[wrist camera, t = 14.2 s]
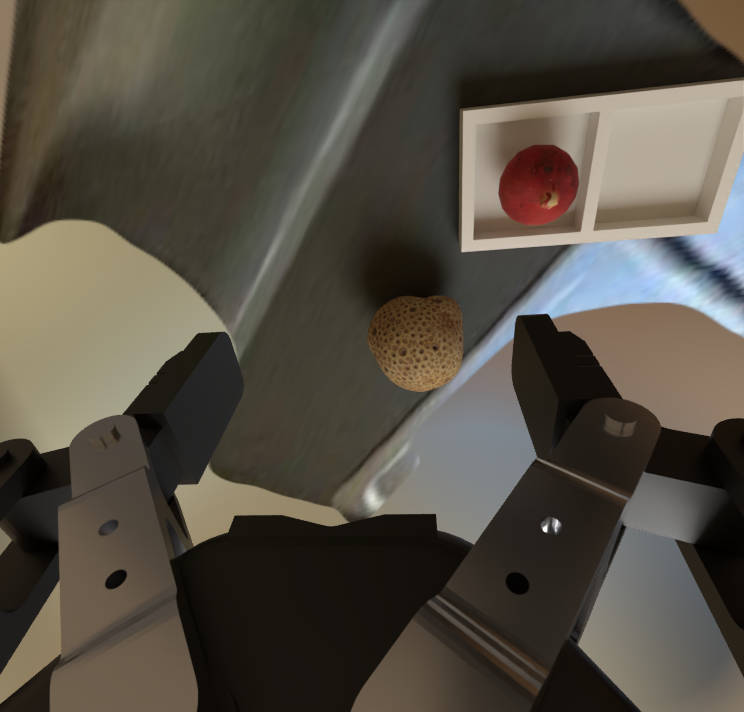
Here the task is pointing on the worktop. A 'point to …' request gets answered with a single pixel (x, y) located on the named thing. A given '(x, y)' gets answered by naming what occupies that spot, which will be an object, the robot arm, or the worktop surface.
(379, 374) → the worktop surface
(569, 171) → the onion
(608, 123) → the well holder
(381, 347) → the natural sponge
